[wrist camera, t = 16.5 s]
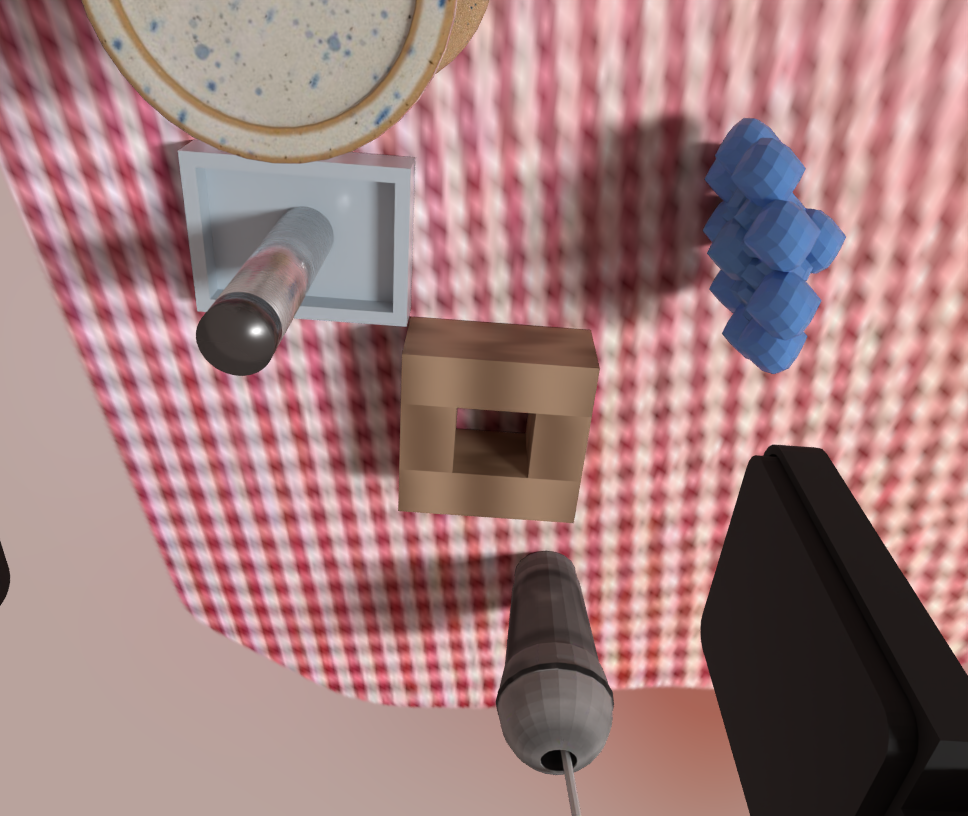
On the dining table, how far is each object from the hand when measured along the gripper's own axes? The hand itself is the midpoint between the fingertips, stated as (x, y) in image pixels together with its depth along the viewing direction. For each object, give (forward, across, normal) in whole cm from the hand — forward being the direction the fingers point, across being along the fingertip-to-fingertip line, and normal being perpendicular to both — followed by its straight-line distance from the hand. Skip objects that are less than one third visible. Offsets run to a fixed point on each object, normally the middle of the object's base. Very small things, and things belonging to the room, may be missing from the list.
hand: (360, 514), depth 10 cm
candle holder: (+36, +5, -5) cm, 37 cm away
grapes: (+36, -16, +6) cm, 40 cm away
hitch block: (+36, -3, +20) cm, 41 cm away
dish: (+36, +8, +9) cm, 38 cm away
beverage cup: (+36, -8, +34) cm, 51 cm away
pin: (+35, +8, +9) cm, 37 cm away
